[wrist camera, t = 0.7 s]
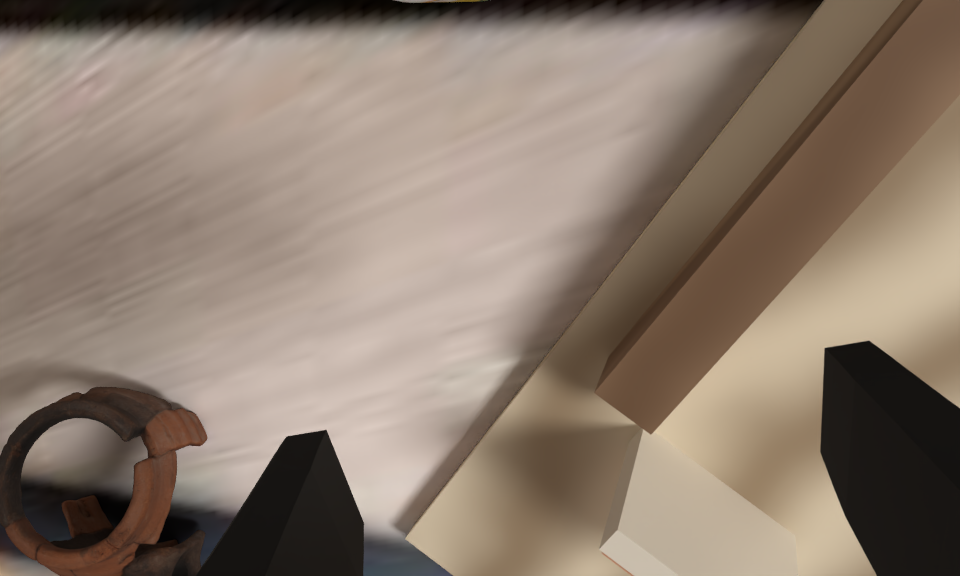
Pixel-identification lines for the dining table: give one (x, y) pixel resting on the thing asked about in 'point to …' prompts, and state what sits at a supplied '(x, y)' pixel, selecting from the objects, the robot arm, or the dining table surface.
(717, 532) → the tile
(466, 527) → the board
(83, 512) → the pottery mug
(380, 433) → the dining table surface
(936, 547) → the robot arm
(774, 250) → the brown wooden bar
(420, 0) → the supplement bottle
